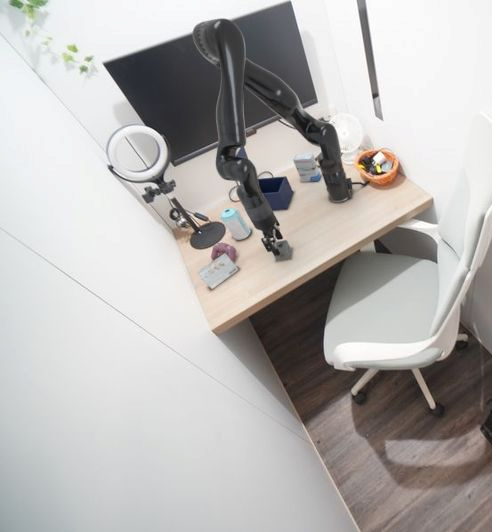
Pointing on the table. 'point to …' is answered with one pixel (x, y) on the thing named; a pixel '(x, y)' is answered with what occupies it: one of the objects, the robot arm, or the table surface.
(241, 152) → the lid
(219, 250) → the video game controller
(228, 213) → the can
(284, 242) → the dice cube
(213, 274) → the ink box
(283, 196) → the chest
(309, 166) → the ink box
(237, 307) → the table surface
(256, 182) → the robot arm
